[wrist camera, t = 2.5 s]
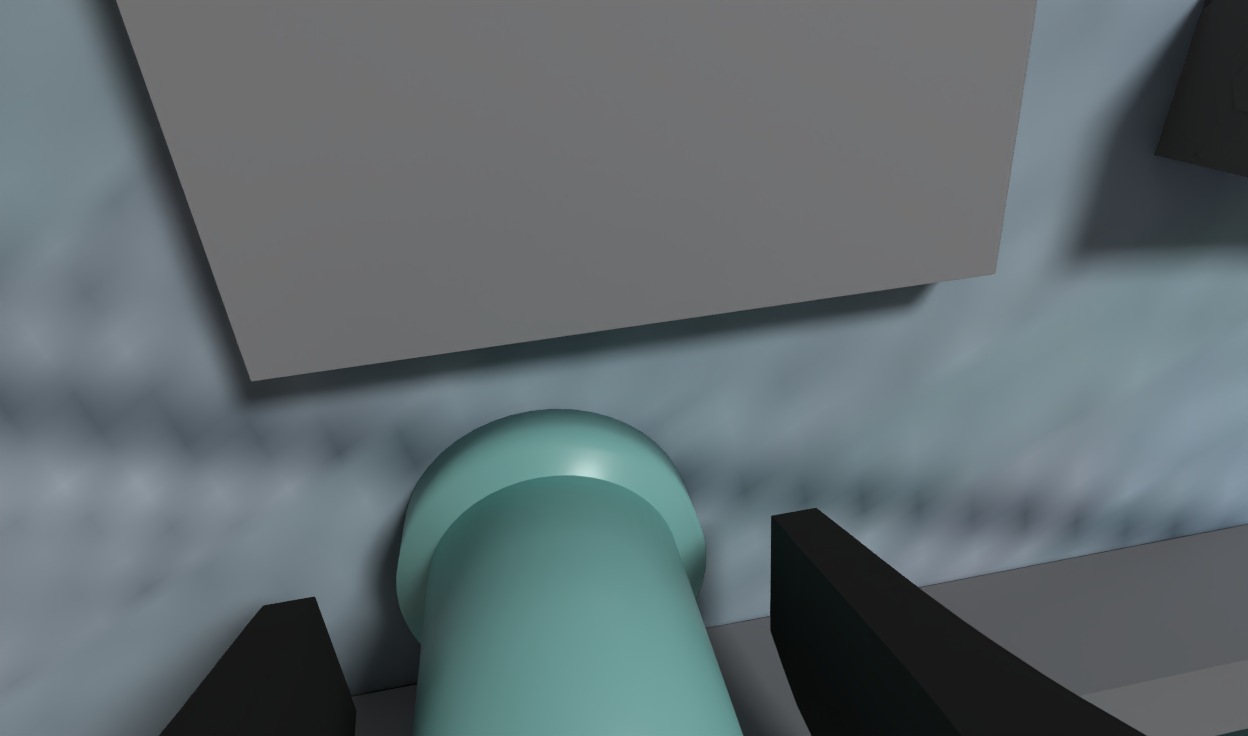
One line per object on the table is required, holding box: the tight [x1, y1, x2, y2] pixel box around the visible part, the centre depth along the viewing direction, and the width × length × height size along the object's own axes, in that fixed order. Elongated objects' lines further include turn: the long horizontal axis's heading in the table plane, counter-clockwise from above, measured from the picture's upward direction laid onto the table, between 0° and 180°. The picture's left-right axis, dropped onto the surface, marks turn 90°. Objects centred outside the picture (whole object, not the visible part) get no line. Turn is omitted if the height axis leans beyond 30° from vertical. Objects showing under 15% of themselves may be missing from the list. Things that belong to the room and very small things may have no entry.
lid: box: [116, 0, 1037, 381], centre depth 8 cm, size 6×9×1 cm, turn 95°
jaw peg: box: [396, 409, 743, 736], centre depth 8 cm, size 4×4×6 cm
